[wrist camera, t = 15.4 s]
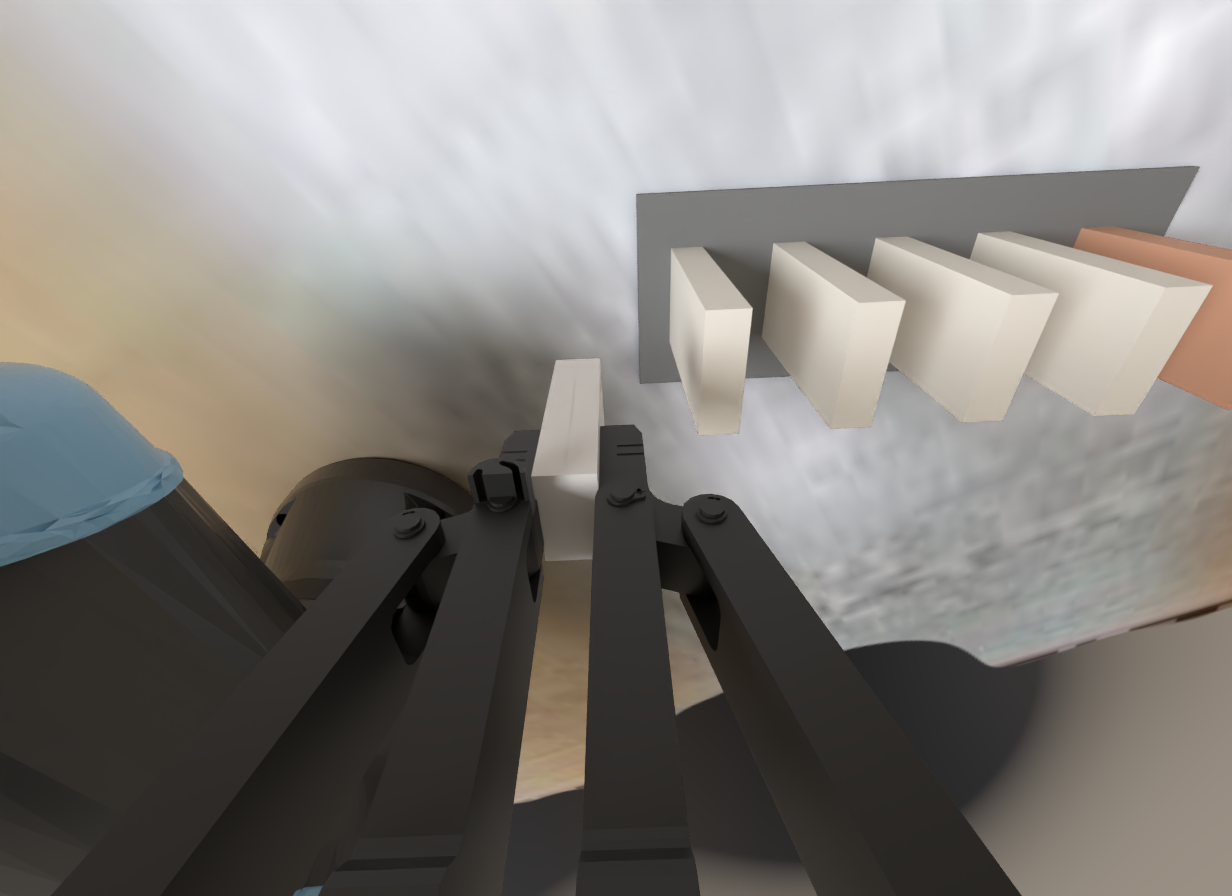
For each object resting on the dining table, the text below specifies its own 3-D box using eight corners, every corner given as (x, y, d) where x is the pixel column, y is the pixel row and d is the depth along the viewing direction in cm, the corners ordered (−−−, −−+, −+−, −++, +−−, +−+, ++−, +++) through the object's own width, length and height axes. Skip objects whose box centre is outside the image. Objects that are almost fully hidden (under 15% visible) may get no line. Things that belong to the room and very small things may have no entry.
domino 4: (946, 328, 28) (1094, 416, 20) (978, 232, 25) (1165, 287, 17) (974, 326, 28) (1134, 413, 20) (1010, 231, 25) (1213, 285, 17)
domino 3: (854, 332, 28) (962, 422, 20) (875, 238, 25) (1012, 295, 17) (882, 331, 28) (1002, 420, 20) (907, 236, 25) (1059, 293, 17)
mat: (639, 380, 30) (640, 383, 29) (636, 193, 24) (636, 195, 24) (1091, 358, 30) (1097, 361, 29) (1191, 166, 24) (1199, 166, 24)
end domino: (1039, 323, 28) (1227, 409, 20) (1081, 227, 25) (1320, 280, 17) (1068, 322, 28) (1267, 407, 20) (1113, 226, 25) (1368, 278, 17)
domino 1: (669, 342, 28) (698, 435, 20) (671, 248, 25) (705, 310, 17) (697, 340, 28) (739, 433, 20) (702, 246, 25) (752, 308, 17)
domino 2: (761, 337, 28) (830, 429, 20) (773, 243, 25) (858, 303, 17) (790, 335, 28) (870, 427, 20) (804, 241, 25) (905, 300, 17)
